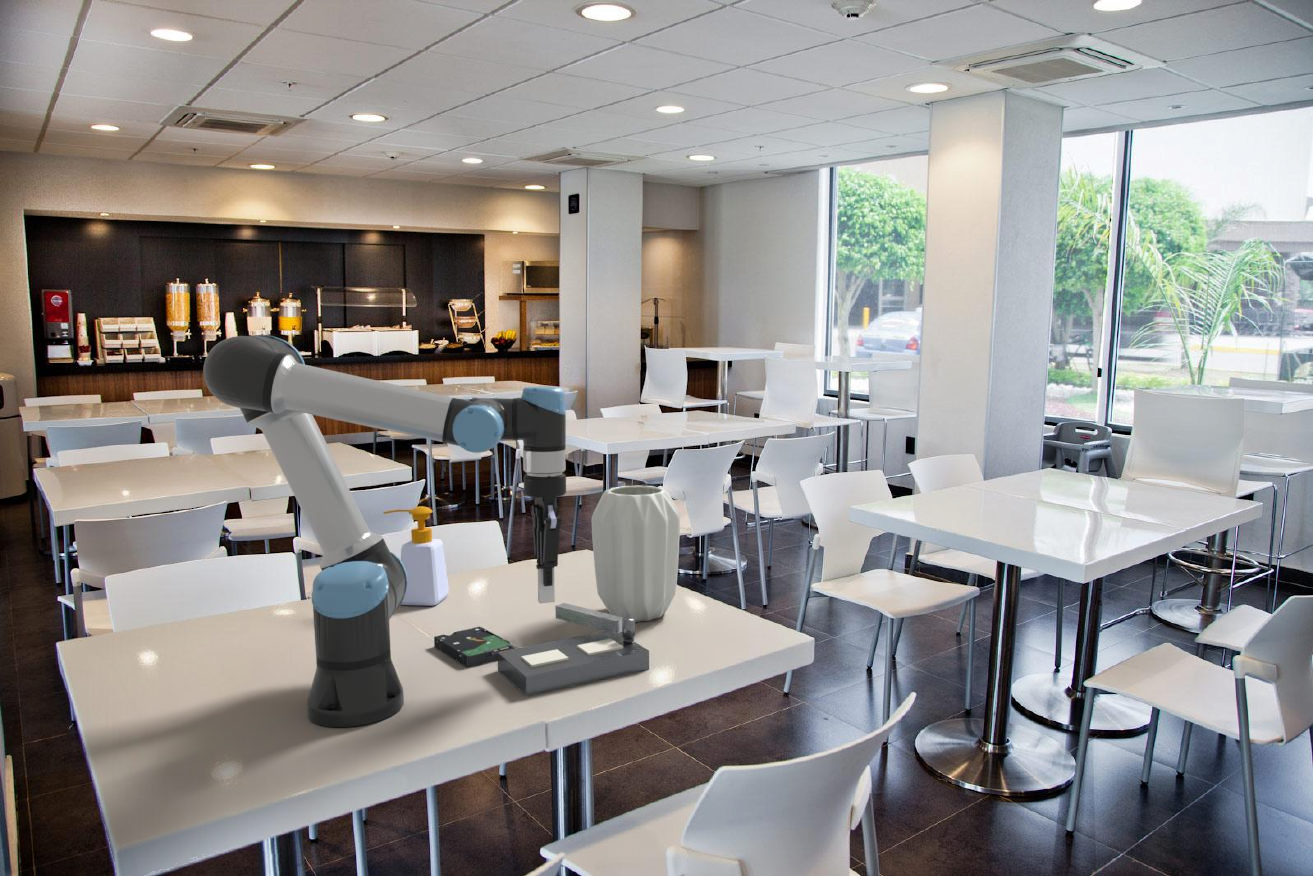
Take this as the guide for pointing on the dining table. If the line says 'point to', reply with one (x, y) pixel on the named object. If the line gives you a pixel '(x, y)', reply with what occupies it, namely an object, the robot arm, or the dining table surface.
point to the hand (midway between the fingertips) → (546, 601)
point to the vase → (636, 550)
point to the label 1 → (544, 658)
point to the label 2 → (599, 647)
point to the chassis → (571, 663)
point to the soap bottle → (423, 563)
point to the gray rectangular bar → (596, 619)
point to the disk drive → (472, 646)
